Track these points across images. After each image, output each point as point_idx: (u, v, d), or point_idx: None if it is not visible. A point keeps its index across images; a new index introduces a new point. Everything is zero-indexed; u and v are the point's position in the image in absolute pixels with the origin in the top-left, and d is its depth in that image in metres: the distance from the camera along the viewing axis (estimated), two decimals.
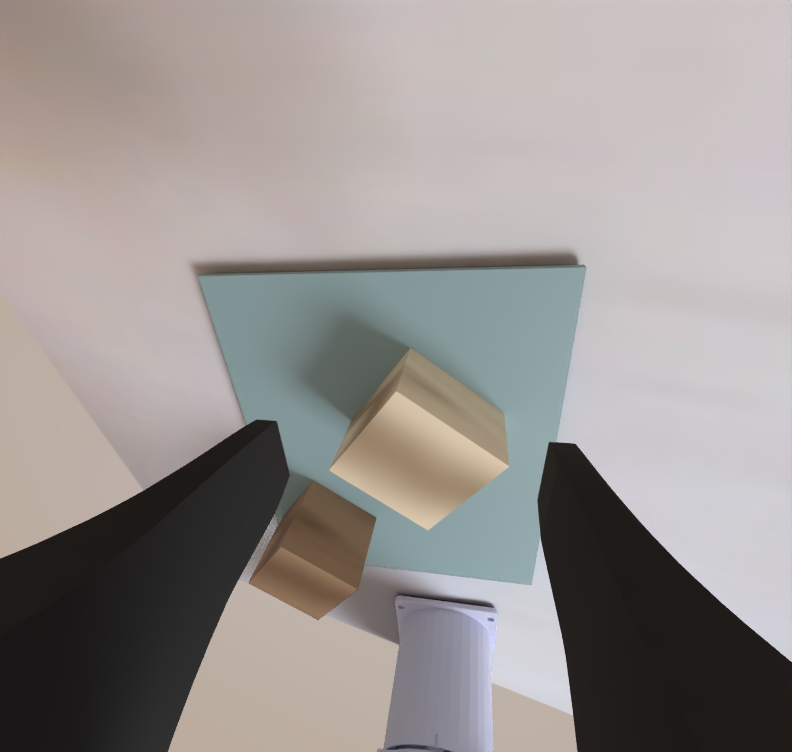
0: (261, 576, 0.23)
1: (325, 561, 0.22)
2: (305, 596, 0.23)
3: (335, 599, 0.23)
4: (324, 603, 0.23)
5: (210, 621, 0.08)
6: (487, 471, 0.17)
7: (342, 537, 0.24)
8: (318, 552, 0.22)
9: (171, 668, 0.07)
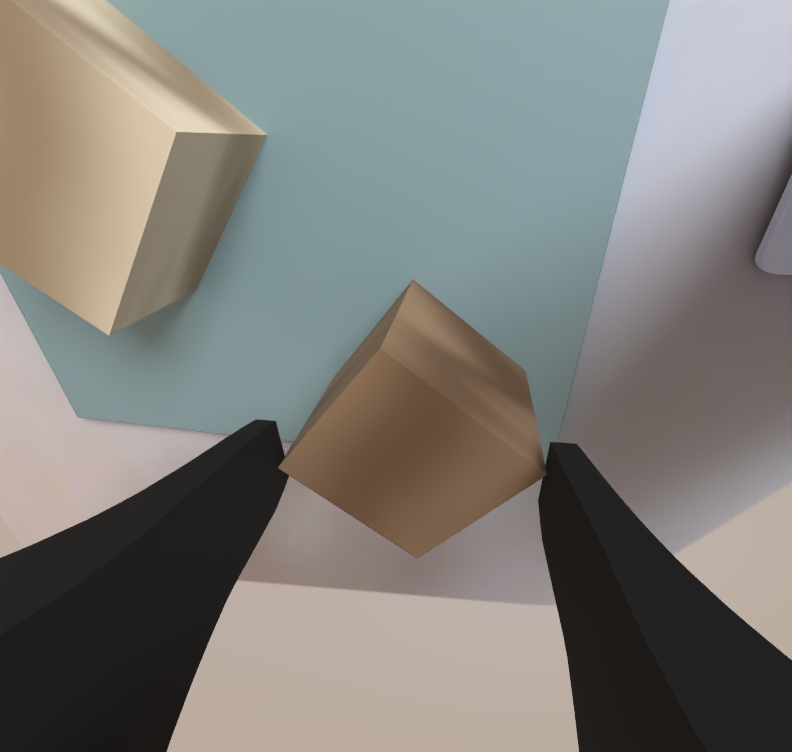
0: (385, 529, 0.11)
1: (332, 400, 0.10)
2: (442, 473, 0.10)
3: (439, 410, 0.09)
4: (464, 441, 0.09)
5: (209, 621, 0.08)
6: None
7: (361, 353, 0.11)
8: (324, 407, 0.10)
9: (170, 668, 0.07)
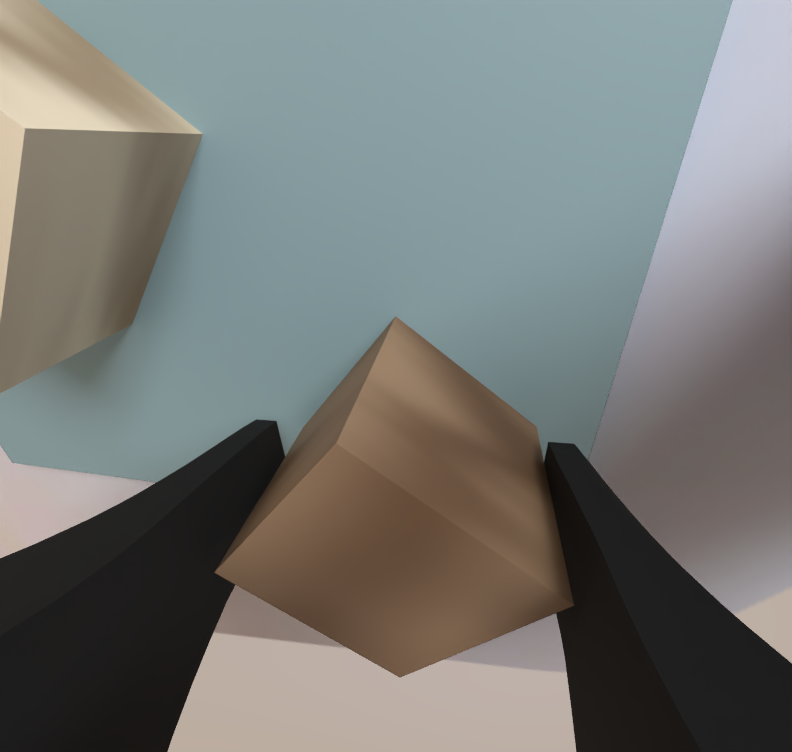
0: (358, 645, 0.09)
1: (280, 494, 0.07)
2: (429, 593, 0.07)
3: (423, 523, 0.06)
4: (458, 560, 0.07)
5: (210, 621, 0.08)
6: None
7: (326, 418, 0.09)
8: (274, 496, 0.08)
9: (171, 668, 0.07)
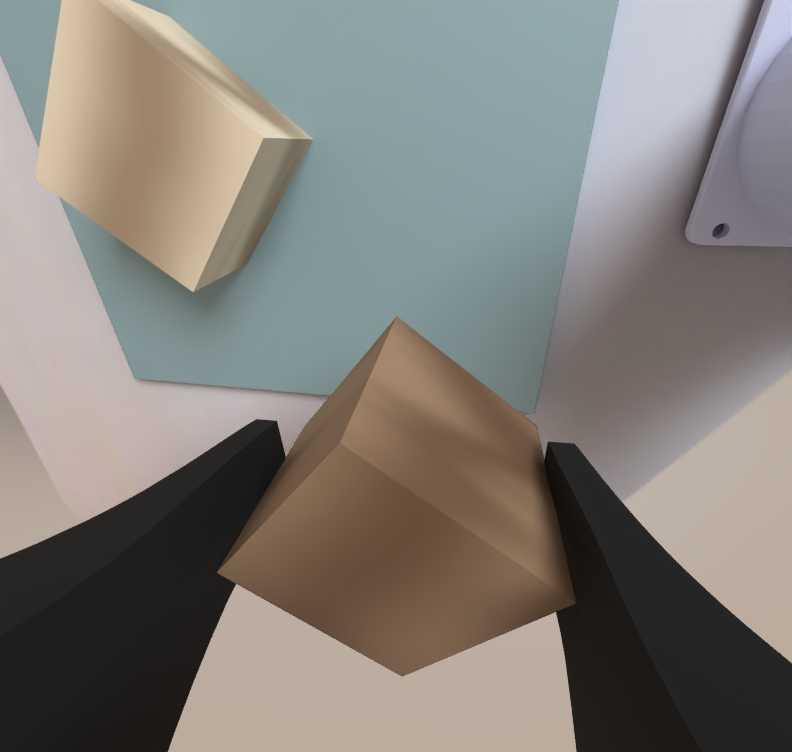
0: (361, 644, 0.09)
1: (282, 494, 0.07)
2: (432, 592, 0.07)
3: (426, 522, 0.06)
4: (461, 559, 0.07)
5: (210, 621, 0.08)
6: (92, 18, 0.10)
7: (328, 418, 0.09)
8: (276, 496, 0.08)
9: (171, 669, 0.07)
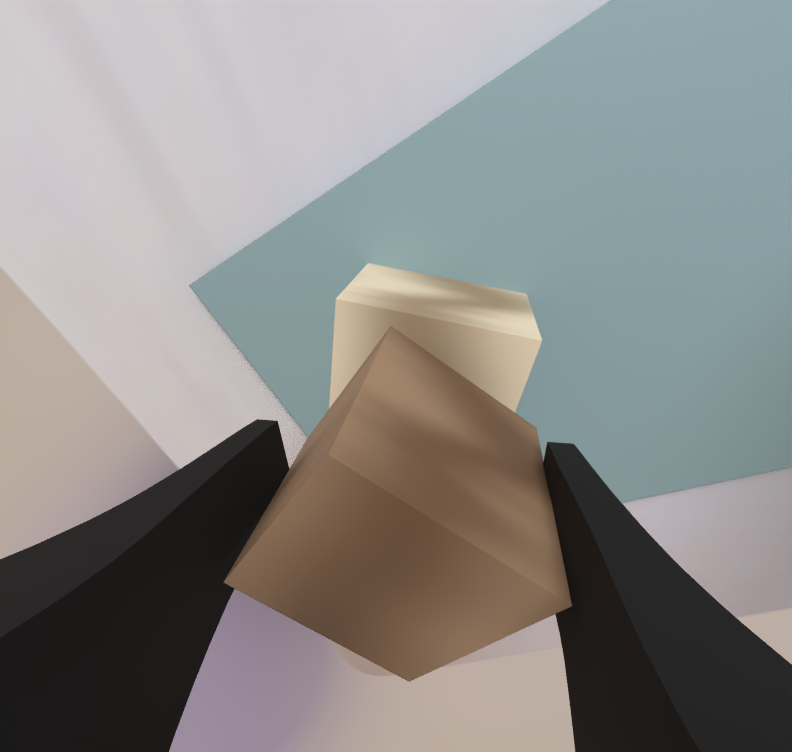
0: (366, 650, 0.09)
1: (281, 505, 0.08)
2: (430, 597, 0.07)
3: (417, 528, 0.06)
4: (455, 564, 0.07)
5: (211, 621, 0.08)
6: (361, 319, 0.12)
7: (325, 428, 0.09)
8: (276, 507, 0.08)
9: (172, 668, 0.07)
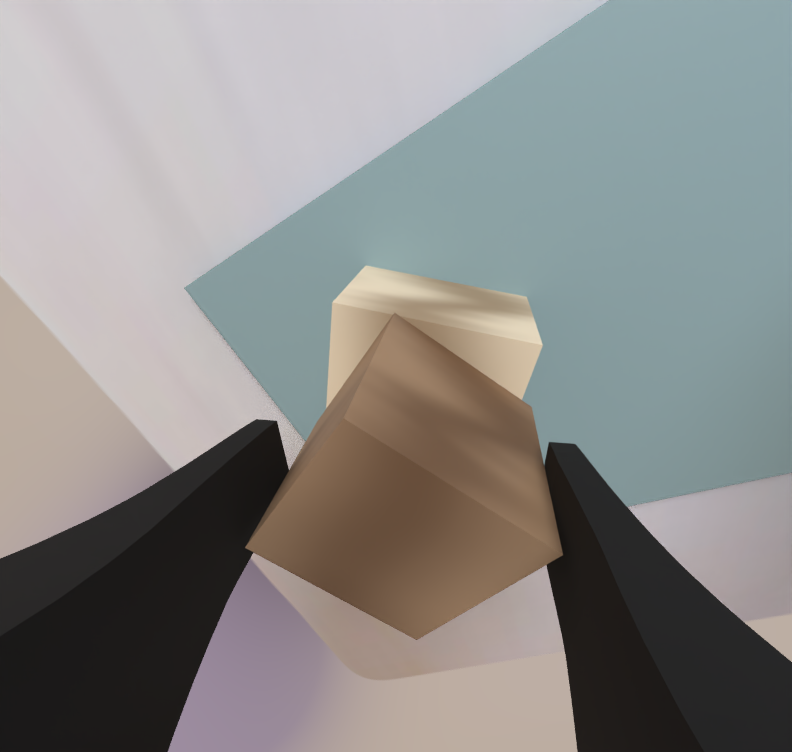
0: (377, 610, 0.10)
1: (298, 471, 0.08)
2: (435, 553, 0.08)
3: (424, 486, 0.07)
4: (457, 519, 0.08)
5: (210, 621, 0.08)
6: (358, 323, 0.11)
7: (336, 406, 0.10)
8: (293, 476, 0.09)
9: (171, 668, 0.07)
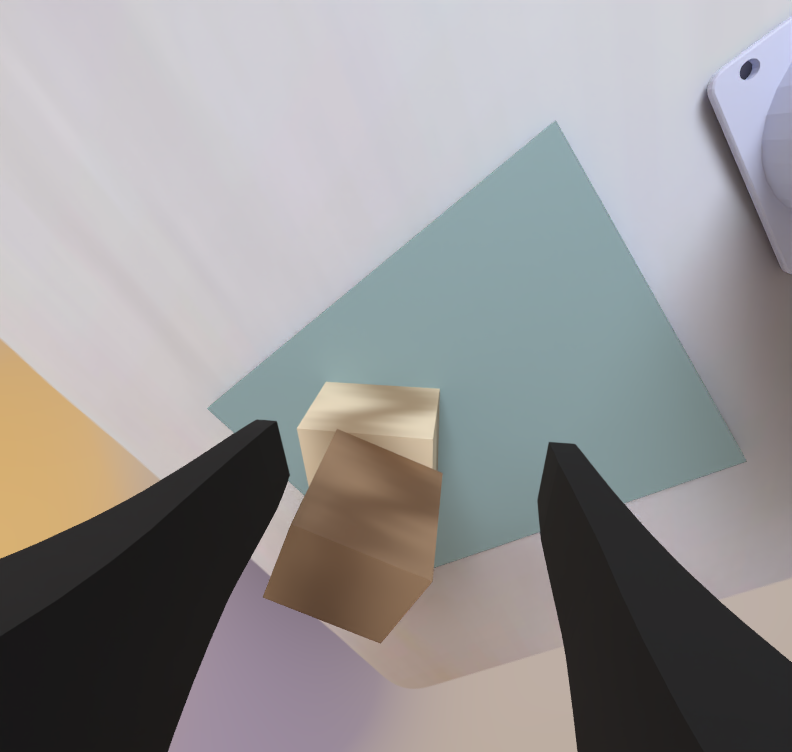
0: (349, 626, 0.15)
1: None
2: (366, 588, 0.14)
3: (343, 552, 0.13)
4: (368, 568, 0.13)
5: (210, 621, 0.08)
6: (316, 438, 0.17)
7: None
8: None
9: (171, 668, 0.07)
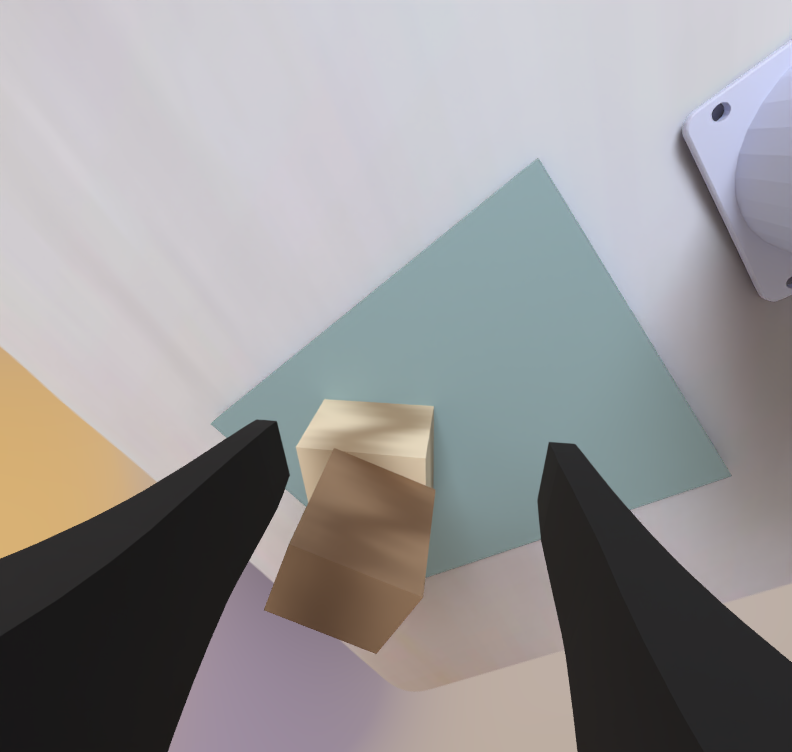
0: (346, 638, 0.16)
1: None
2: (361, 603, 0.14)
3: (339, 570, 0.14)
4: (362, 584, 0.14)
5: (210, 621, 0.08)
6: (314, 456, 0.18)
7: None
8: None
9: (171, 668, 0.07)
